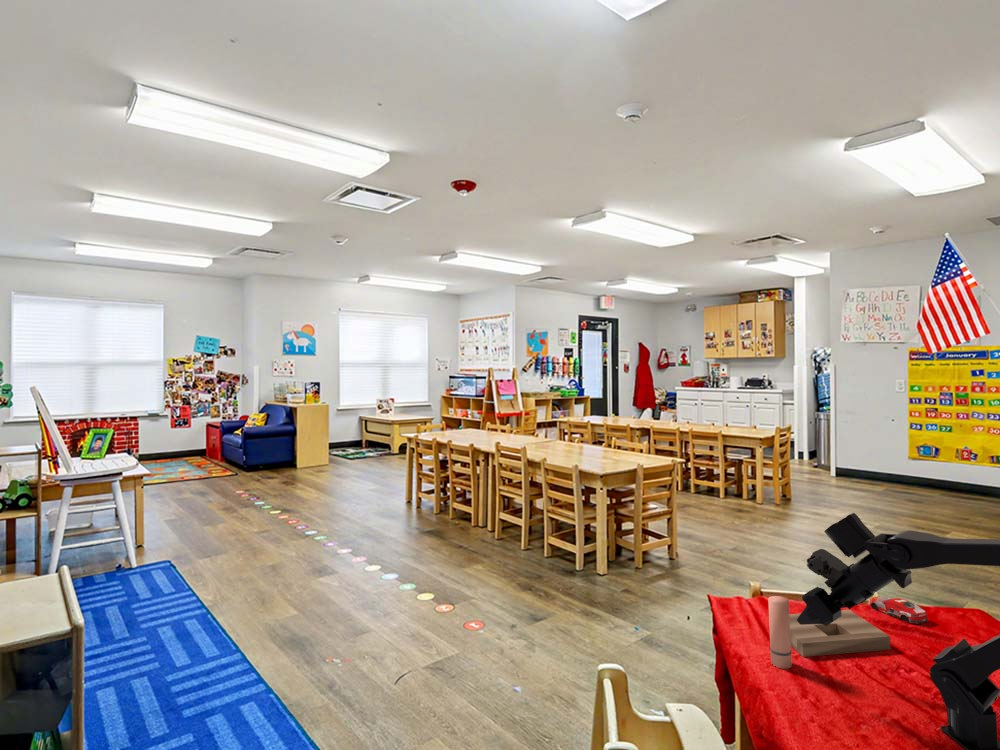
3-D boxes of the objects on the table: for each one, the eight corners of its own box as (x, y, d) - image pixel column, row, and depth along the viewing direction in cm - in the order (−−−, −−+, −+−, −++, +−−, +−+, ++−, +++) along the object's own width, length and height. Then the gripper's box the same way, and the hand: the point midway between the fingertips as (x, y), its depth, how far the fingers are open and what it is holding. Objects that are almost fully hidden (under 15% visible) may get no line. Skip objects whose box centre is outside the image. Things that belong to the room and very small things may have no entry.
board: (890, 649, 129) (889, 636, 129) (802, 656, 128) (802, 643, 128) (849, 621, 143) (848, 609, 143) (770, 628, 142) (769, 615, 142)
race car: (865, 607, 151) (864, 592, 151) (880, 603, 153) (880, 588, 153) (915, 628, 139) (914, 611, 139) (931, 623, 141) (931, 607, 140)
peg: (796, 668, 124) (793, 602, 124) (777, 669, 124) (774, 604, 123) (785, 658, 128) (782, 595, 128) (767, 659, 128) (764, 596, 127)
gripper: (855, 530, 121) (803, 569, 130) (810, 551, 110) (757, 592, 119) (899, 578, 115) (842, 615, 124) (857, 605, 104) (797, 644, 113)
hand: (809, 615), depth 120 cm, fingers open, 9 cm apart
